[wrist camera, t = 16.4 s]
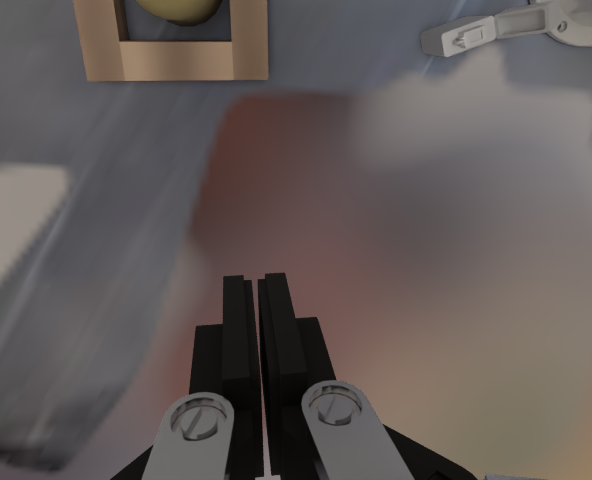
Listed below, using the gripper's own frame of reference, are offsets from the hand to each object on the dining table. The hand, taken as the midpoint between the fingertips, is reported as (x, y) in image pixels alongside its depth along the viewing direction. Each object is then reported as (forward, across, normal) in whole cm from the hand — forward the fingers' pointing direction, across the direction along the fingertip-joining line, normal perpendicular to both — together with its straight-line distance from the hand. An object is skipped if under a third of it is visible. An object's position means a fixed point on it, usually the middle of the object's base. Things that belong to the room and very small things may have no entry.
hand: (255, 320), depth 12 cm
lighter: (+29, -19, -7) cm, 36 cm away
